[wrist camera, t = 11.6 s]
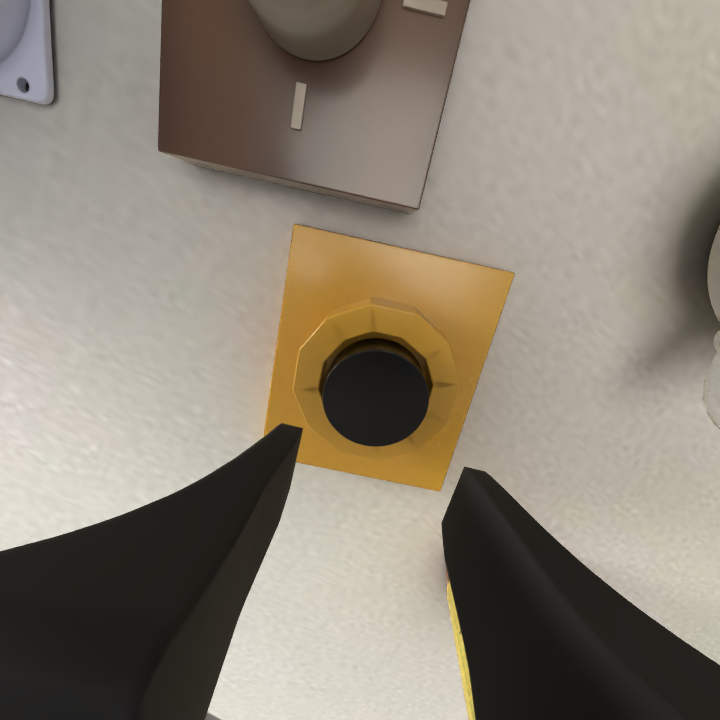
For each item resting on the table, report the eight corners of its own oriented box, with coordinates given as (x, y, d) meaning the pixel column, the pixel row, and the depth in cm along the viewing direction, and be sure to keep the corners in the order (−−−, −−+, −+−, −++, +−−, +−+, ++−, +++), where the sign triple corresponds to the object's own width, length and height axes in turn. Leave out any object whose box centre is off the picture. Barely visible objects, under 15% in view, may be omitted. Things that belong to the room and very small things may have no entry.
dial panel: (194, 165, 17) (154, 149, 14) (216, -218, 13) (167, -357, 10) (411, 214, 17) (419, 209, 14) (497, -145, 13) (534, -258, 10)
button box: (266, 443, 21) (249, 475, 18) (299, 224, 17) (283, 222, 14) (436, 478, 21) (446, 515, 19) (506, 270, 17) (531, 277, 15)
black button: (319, 416, 17) (313, 435, 16) (337, 328, 16) (332, 338, 14) (410, 435, 18) (413, 456, 16) (435, 349, 16) (442, 362, 14)
